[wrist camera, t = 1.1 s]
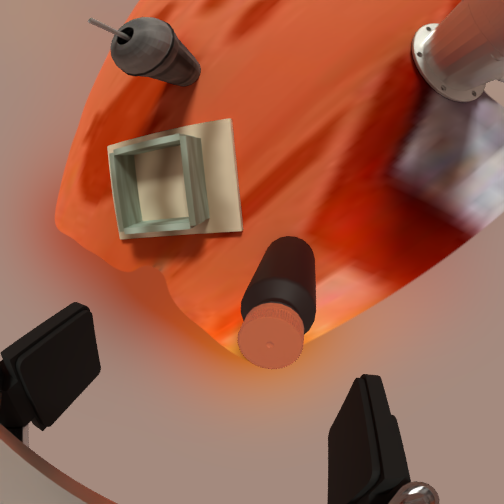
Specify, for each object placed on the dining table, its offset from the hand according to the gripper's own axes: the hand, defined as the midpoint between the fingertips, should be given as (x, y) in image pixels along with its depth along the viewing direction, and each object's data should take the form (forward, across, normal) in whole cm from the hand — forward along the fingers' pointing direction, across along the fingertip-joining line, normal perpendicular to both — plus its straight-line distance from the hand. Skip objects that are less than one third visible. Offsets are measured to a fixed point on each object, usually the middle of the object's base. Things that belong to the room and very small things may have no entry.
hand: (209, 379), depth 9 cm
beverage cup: (+31, +16, -19) cm, 40 cm away
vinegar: (+31, -2, +5) cm, 32 cm away
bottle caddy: (+31, +16, -3) cm, 35 cm away
